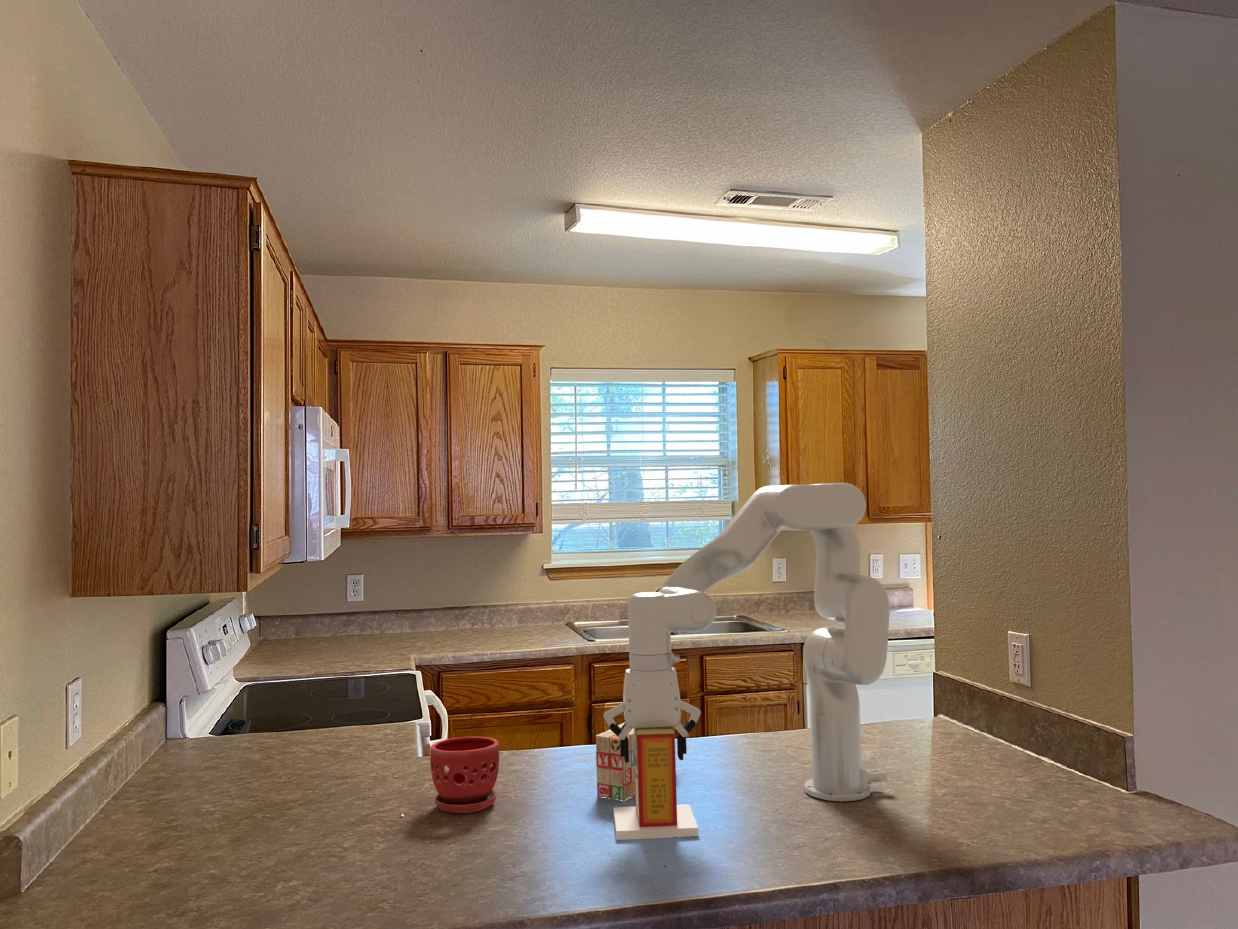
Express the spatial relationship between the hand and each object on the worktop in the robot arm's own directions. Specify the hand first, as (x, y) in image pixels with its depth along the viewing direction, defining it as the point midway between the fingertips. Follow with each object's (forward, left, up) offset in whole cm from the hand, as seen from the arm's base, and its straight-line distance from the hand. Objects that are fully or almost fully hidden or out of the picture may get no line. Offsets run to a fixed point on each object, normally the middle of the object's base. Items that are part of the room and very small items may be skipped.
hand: (653, 759), depth 159 cm
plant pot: (+35, -15, -12) cm, 40 cm away
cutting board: (0, 0, -12) cm, 12 cm away
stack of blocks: (+1, -24, -12) cm, 27 cm away
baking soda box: (0, 0, -10) cm, 10 cm away
